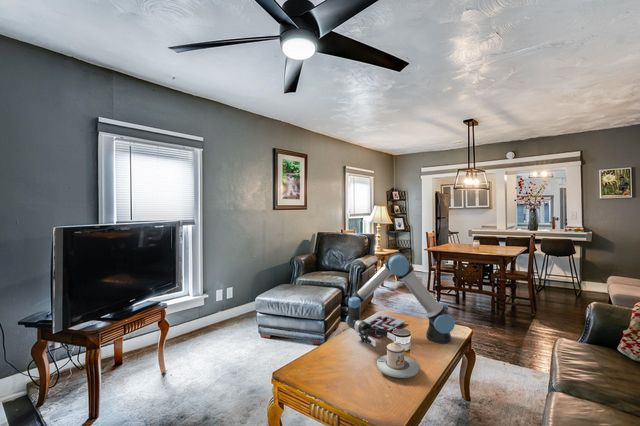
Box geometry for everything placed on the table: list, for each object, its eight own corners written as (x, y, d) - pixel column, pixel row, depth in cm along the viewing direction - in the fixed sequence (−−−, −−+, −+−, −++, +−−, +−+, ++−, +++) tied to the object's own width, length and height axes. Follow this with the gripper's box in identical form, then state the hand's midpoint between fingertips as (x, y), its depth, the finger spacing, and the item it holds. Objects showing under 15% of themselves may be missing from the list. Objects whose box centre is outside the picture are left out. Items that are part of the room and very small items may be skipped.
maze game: (379, 340, 198) (379, 335, 198) (354, 332, 212) (354, 327, 212) (405, 325, 223) (405, 320, 223) (382, 318, 237) (382, 314, 237)
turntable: (419, 360, 166) (419, 357, 166) (418, 381, 146) (418, 377, 146) (379, 354, 173) (379, 351, 173) (374, 373, 153) (374, 370, 153)
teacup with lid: (398, 371, 152) (397, 347, 152) (383, 364, 159) (382, 341, 159) (411, 362, 160) (411, 340, 160) (396, 356, 167) (396, 335, 167)
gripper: (379, 330, 193) (403, 343, 174) (345, 338, 181) (366, 353, 162) (379, 318, 192) (403, 330, 174) (345, 325, 181) (366, 339, 162)
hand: (385, 341), depth 168 cm, fingers open, 13 cm apart
